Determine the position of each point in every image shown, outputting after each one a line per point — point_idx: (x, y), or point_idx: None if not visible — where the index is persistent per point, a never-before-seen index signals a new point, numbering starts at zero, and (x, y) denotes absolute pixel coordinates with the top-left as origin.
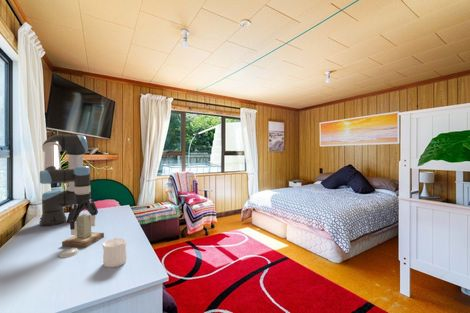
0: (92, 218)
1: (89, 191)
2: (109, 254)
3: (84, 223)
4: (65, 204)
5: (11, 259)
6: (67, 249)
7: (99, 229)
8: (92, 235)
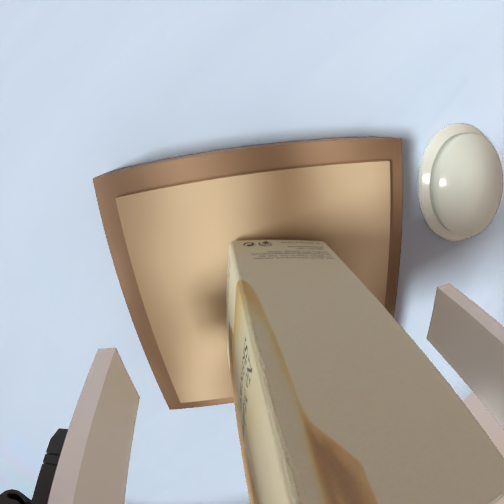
0: (99, 471)
1: None
2: None
3: (430, 368)
4: None
5: (467, 386)
6: (460, 223)
7: (28, 364)
8: (223, 229)
